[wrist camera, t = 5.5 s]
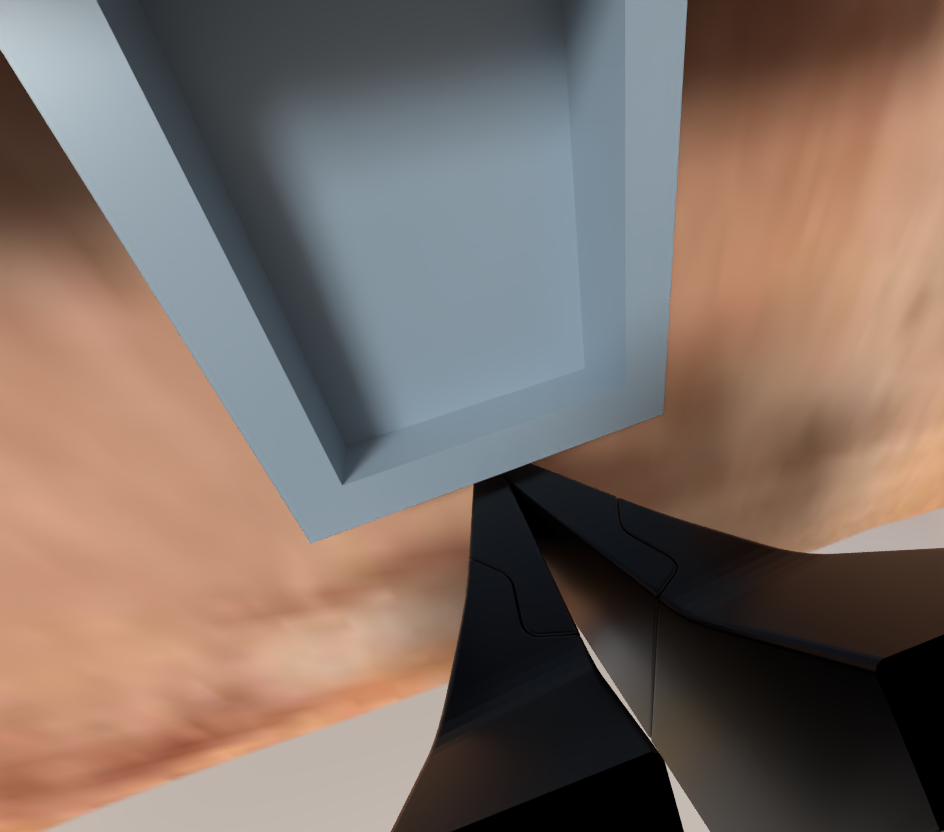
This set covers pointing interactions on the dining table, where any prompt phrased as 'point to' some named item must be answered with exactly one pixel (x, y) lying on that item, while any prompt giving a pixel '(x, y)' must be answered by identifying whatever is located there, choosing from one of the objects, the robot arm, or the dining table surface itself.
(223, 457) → the dining table surface
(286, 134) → the grey shell
